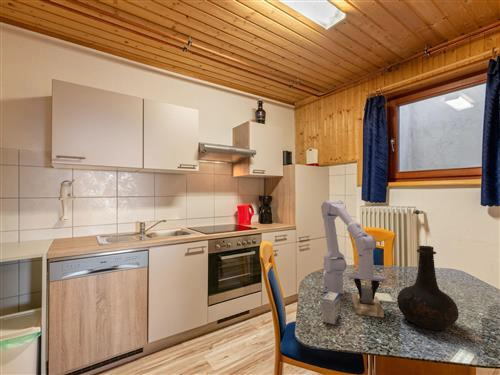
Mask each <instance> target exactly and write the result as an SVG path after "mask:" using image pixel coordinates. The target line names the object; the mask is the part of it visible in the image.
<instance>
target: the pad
mask: <svg viewBox="0 0 500 375" xmlns="http://www.w3.org/2000/svg"><path fill="white" fill-rule="evenodd" d="M375 297H377V298H378V300H379V302H380V303H381V302H382V303H388V304H390V303H391V304H393V303H394V301H393V299H392V297H391V296H390V294H389V293H386V292H385V293H383V292H376V293H375Z"/></svg>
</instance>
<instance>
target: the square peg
mask: <svg viewBox="0 0 500 375" xmlns="http://www.w3.org/2000/svg"><path fill="white" fill-rule="evenodd" d="M361 295H362V298H361V304H367V305H373V297H372V287H371V285H367V284H366V285H364V284H361Z"/></svg>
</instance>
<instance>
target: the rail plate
mask: <svg viewBox="0 0 500 375" xmlns="http://www.w3.org/2000/svg"><path fill="white" fill-rule="evenodd" d="M351 295H352V296H351V297H352V305H353V309H354V310H353V311H354V313H355V315H360V316H361V315H362V316H369V317H377V318H384V317H385V316H384V315H385V314H384V309H383V307H382V304H381V302H380V301H379V300H378V298H377V297H375V296H374V300H373V305H367V304H361V298H360V297H359V294H358V293H357V294H356V293H352V294H351Z"/></svg>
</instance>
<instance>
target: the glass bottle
mask: <svg viewBox="0 0 500 375" xmlns="http://www.w3.org/2000/svg"><path fill="white" fill-rule="evenodd" d="M434 249H435V248H434V246H430V245H418V249H416V252H417V253H418V268H417V274H416V278H415V281H414V284H413V285H409V286H405V287H404V288H402V289H401V290H400V291H399V293H398V294H397V298H396V302H397V306H398V308H399V311H400V312H401V313H402V315H403V316H404V317H405V318H406V319H407V320H409V322H412V323H413V324H415V325H417V326H419V327H421V328H424V329H427V330H432V331H443V330H446V329H449V328H450V327H452V326H453V325H454V324H455V323H456V322H457V320H458V319H459V315H460V314H459V309H458V306H457V303H456V302H455V300H453V298H452V297H451V296H450V295H448V294H447V293H446V292H444V291H442V290H441V289H440V288H439V285H438V281H437V277H436V276H437V274H436V269H435V257H434V255H436V254H437V252H436V251H434Z"/></svg>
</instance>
